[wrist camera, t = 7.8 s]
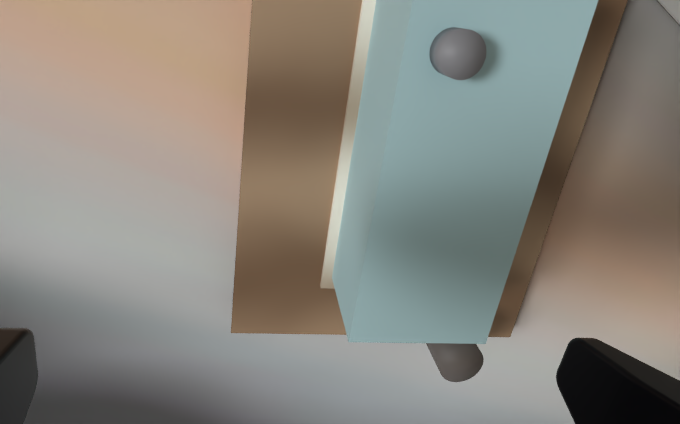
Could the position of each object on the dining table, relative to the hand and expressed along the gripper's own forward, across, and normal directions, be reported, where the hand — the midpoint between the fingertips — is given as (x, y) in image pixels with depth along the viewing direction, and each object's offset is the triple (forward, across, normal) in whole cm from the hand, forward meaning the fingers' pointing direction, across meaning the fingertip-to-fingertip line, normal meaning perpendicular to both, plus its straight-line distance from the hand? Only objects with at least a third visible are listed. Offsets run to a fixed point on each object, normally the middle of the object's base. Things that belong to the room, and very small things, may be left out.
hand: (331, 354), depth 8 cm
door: (+10, -5, -1) cm, 11 cm away
